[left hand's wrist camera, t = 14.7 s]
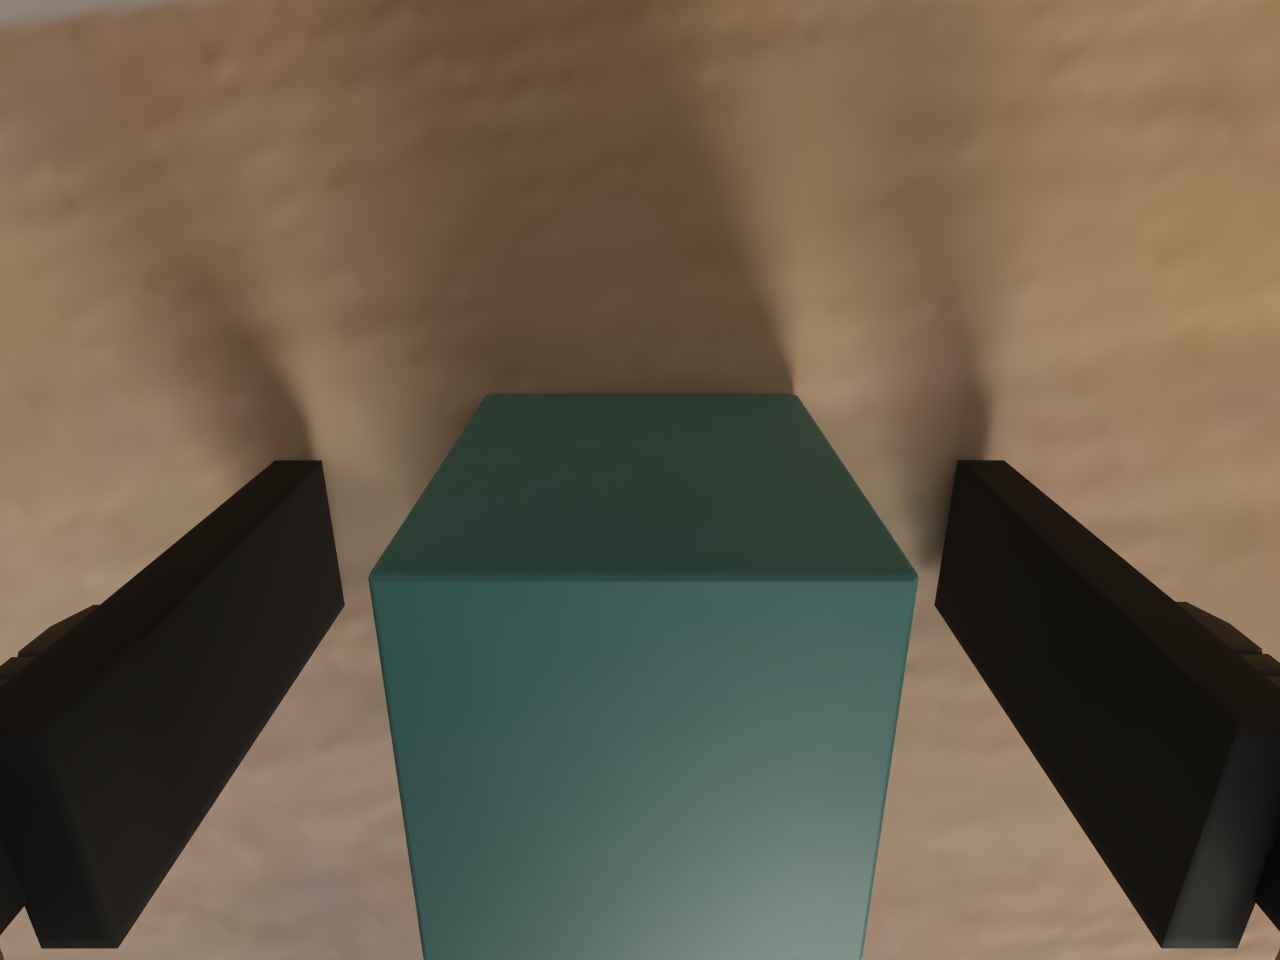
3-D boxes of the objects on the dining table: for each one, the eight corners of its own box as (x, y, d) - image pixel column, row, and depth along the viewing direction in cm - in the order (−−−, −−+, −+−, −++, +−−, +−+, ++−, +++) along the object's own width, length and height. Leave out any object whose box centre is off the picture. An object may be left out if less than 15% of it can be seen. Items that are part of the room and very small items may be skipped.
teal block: (798, 393, 13) (921, 574, 7) (777, 657, 15) (863, 966, 9) (485, 393, 13) (364, 574, 7) (505, 657, 15) (421, 964, 9)
